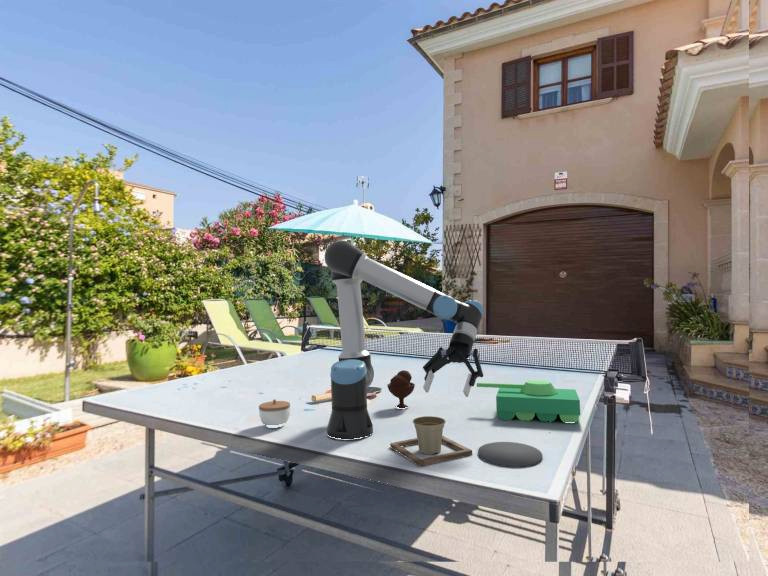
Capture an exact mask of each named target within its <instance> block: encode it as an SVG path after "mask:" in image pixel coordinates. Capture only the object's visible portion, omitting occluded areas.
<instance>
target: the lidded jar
mask: <svg viewBox="0 0 768 576" xmlns="http://www.w3.org/2000/svg"><path fill="white" fill-rule="evenodd" d="M290 407H291V403H290V402H289V401H285V400H277V399H273V400H272V401H267V402H263V403H261V404H259V405H258V410H259V418H260V421H261V423H262V424H263V425H264V424H265V425H279V424H283V423H285V424H287V422H288V421H289V417H290V413H291V408H290ZM265 425H264V426H265Z"/></svg>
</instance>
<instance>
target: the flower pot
mask: <svg viewBox="0 0 768 576" xmlns="http://www.w3.org/2000/svg"><path fill="white" fill-rule="evenodd" d="M446 422H447V421H446V419H444V418H442V417H438V416H430V415H429V416H427V415H426V416H419V417H416V418H414V419H412V423H413V426H414V428H415V433H416V438H417V440H418V444H417V445H418V451H419V452H421V453H422V454H424V453H425V455H434V454H439V453H440V452H441V450H442V442H441V441H442V436H443V431H444V427H445V424H446Z"/></svg>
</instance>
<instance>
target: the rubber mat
mask: <svg viewBox="0 0 768 576" xmlns="http://www.w3.org/2000/svg"><path fill="white" fill-rule="evenodd" d="M477 455H478V457H479V458H480V459H481V460H483V461H484V462H486V463H489V464H492V465H495V466H498V467H499V466H501V467H506V468H507V467H509V468H525V467H532V466H536V465H538V464H539V463H541V462H542V461H543V452H542V451H540V450H539V449H538V448H536V447H534V446H532V445H529V444H526V443H519V442H514V441H513V442H511V441H496V442H495V441H494V442H489V443H485V444H482V445H481V446H480V447H478V449H477Z"/></svg>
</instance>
